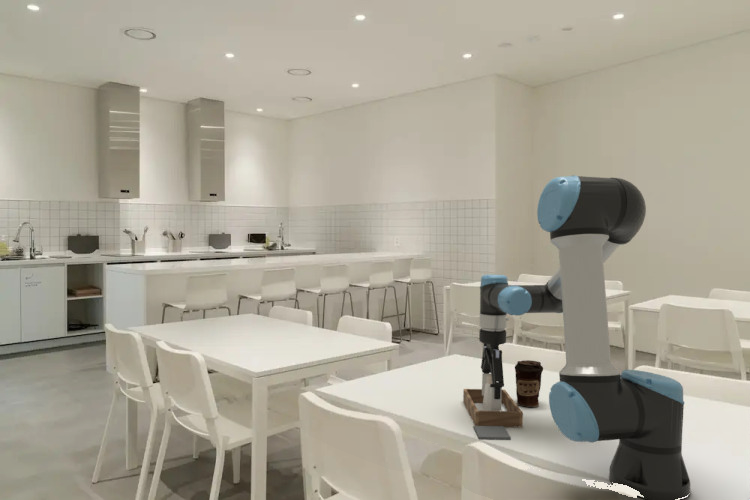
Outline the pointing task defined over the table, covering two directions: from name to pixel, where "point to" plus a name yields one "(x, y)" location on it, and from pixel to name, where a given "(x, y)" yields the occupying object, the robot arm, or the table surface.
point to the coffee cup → (528, 382)
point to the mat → (492, 432)
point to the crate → (492, 417)
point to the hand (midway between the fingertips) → (491, 402)
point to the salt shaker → (487, 395)
